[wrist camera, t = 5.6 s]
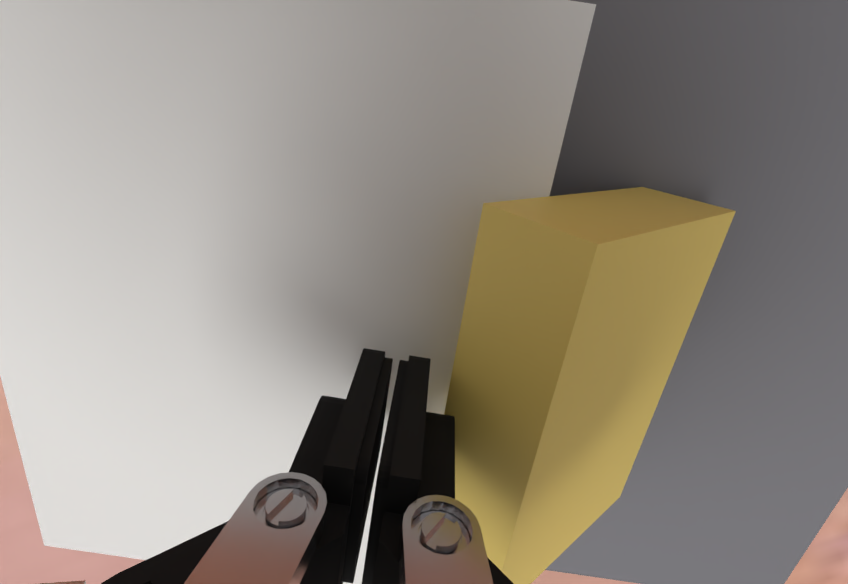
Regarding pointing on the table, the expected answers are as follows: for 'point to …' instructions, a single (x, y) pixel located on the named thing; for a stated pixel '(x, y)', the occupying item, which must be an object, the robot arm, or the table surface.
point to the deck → (244, 228)
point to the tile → (569, 357)
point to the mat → (729, 278)
